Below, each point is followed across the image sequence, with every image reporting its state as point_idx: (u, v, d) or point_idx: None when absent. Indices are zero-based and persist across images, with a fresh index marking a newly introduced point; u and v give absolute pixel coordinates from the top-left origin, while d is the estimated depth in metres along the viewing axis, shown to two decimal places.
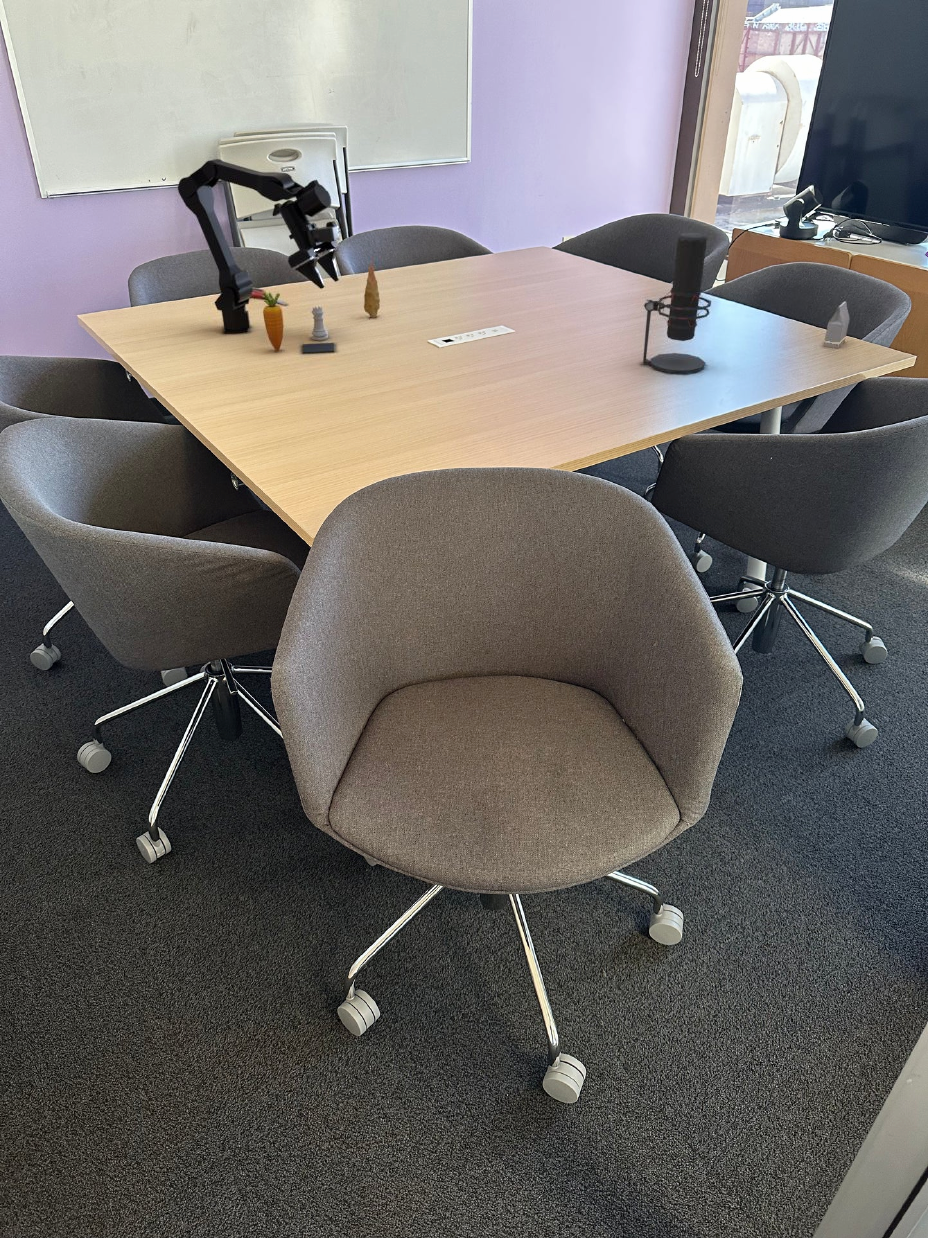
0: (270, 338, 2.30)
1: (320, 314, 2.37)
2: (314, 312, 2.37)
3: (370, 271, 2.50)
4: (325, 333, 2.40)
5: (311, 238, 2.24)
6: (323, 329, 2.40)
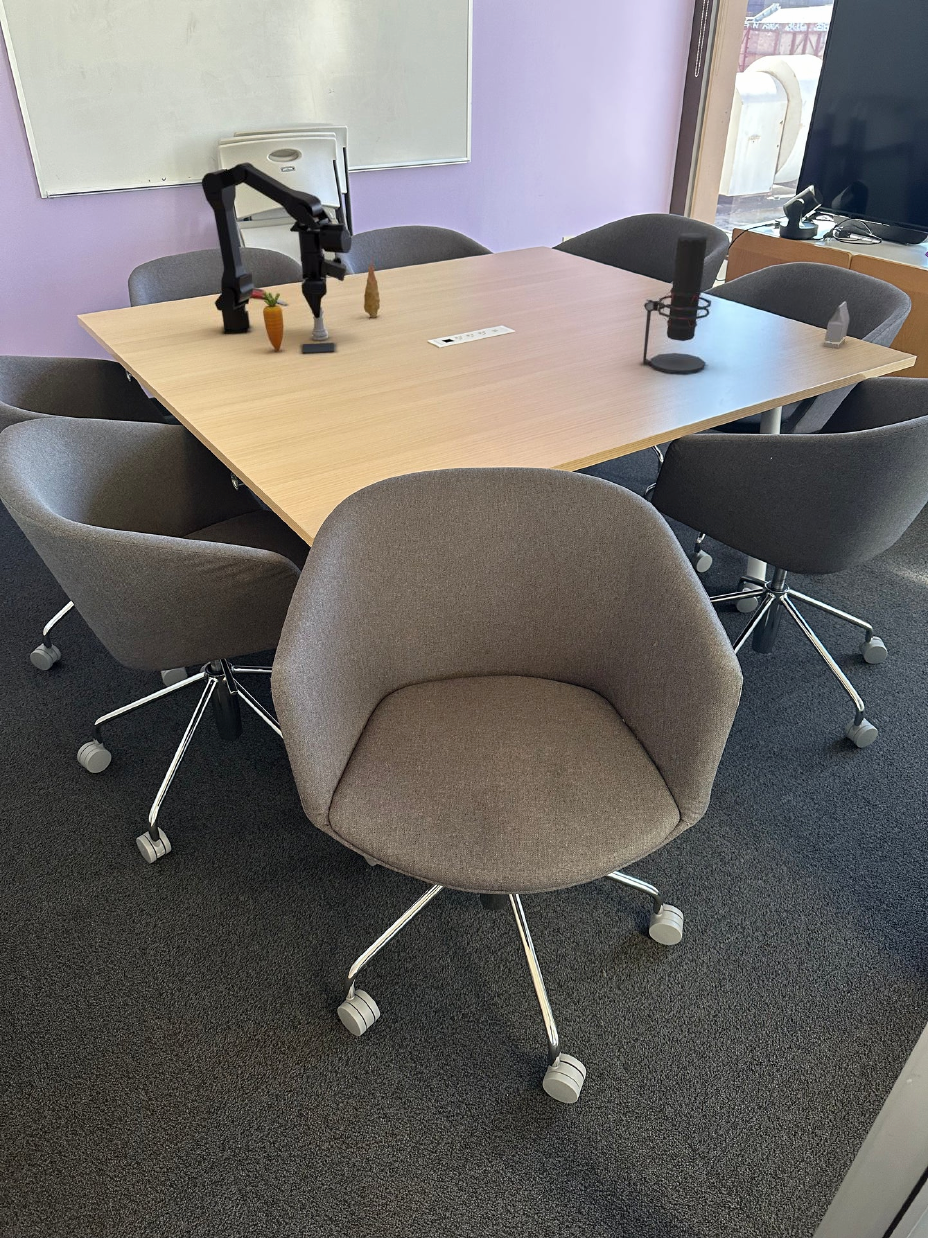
0: (270, 338, 2.30)
1: (320, 314, 2.37)
2: None
3: (370, 271, 2.50)
4: (325, 333, 2.40)
5: (324, 270, 2.30)
6: (323, 329, 2.40)
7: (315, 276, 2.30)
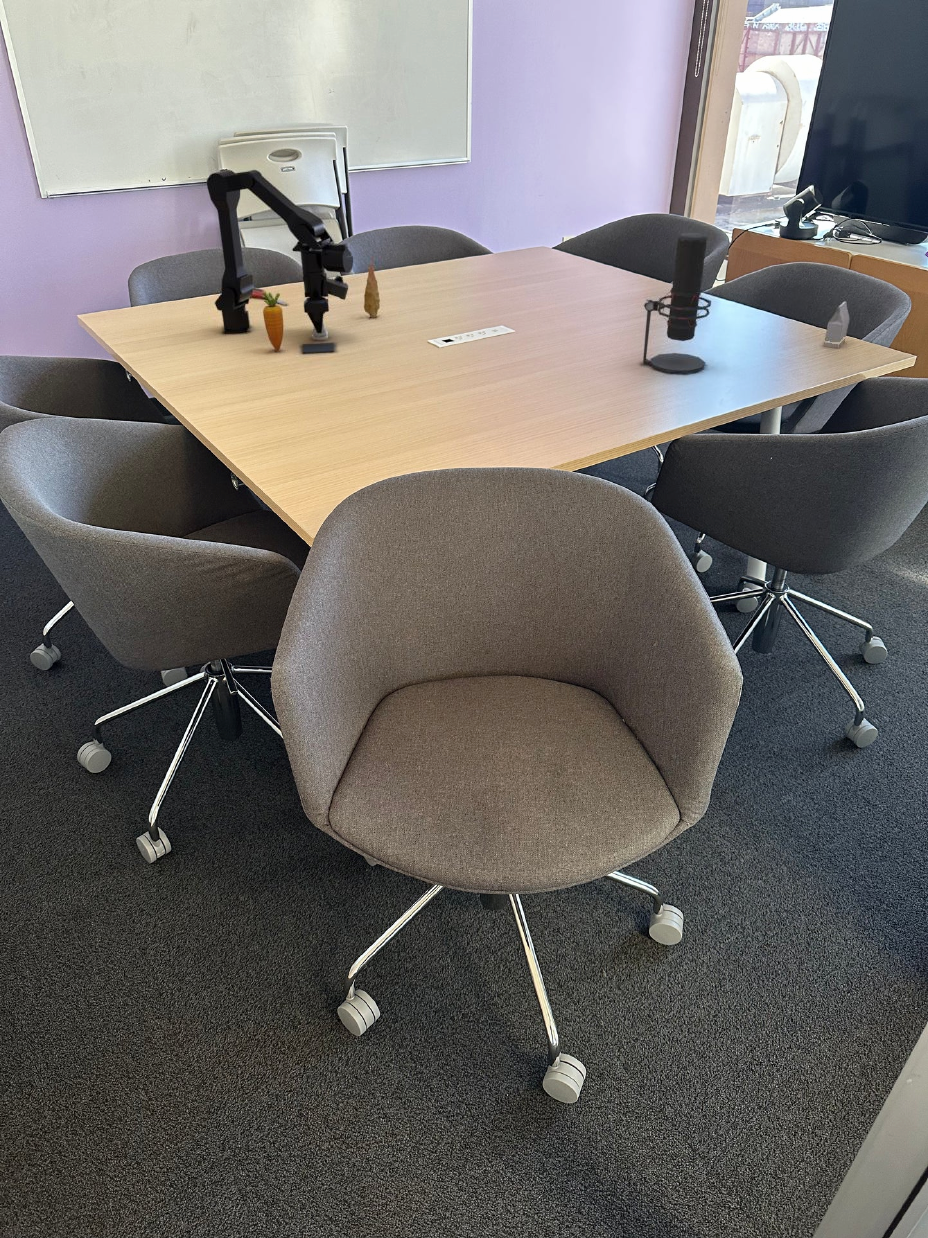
0: (270, 338, 2.30)
1: None
2: None
3: (370, 271, 2.50)
4: (325, 333, 2.40)
5: (325, 289, 2.32)
6: (323, 329, 2.40)
7: (317, 295, 2.33)
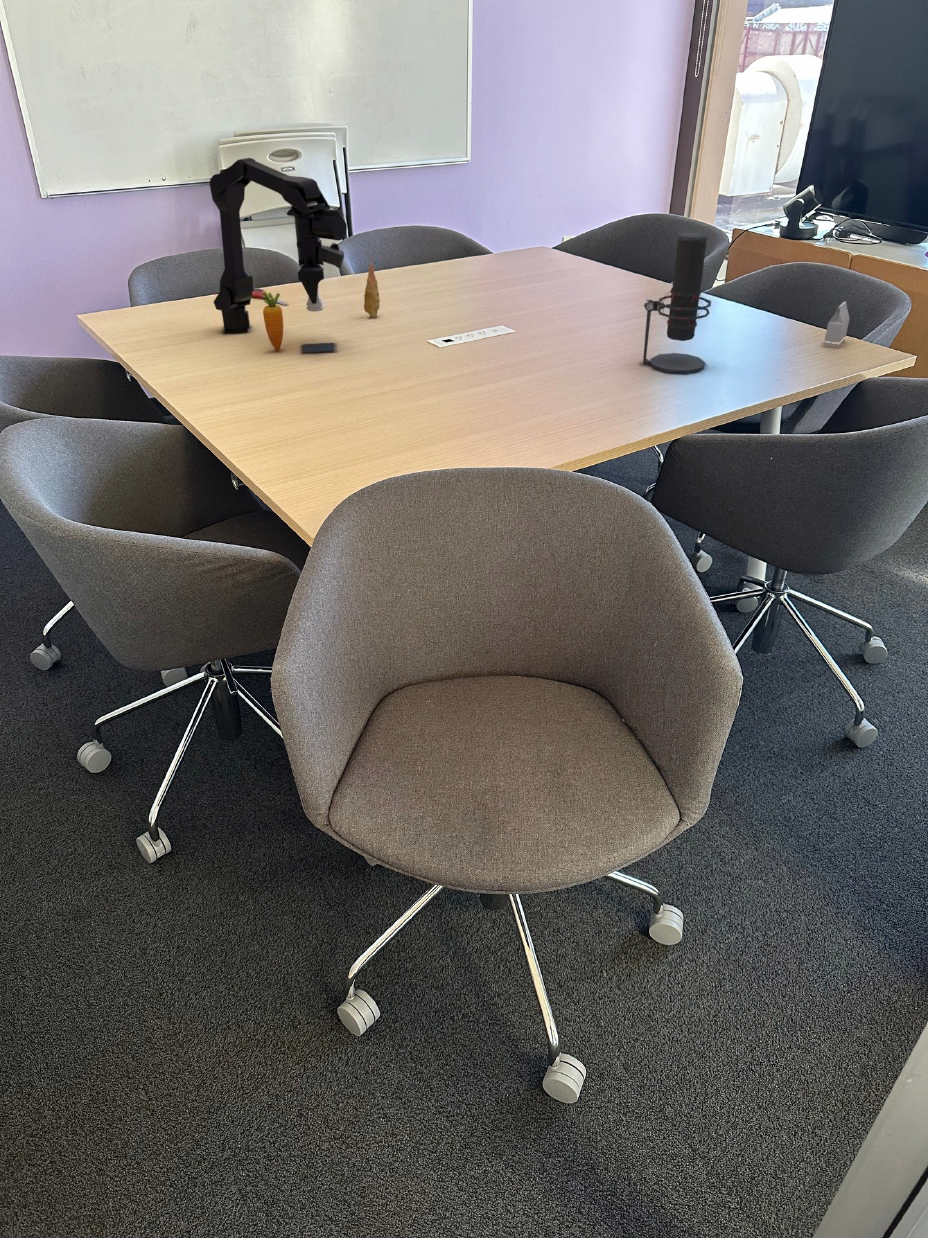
0: (270, 338, 2.30)
1: None
2: None
3: (370, 271, 2.50)
4: (320, 303, 2.29)
5: (321, 256, 2.21)
6: (318, 299, 2.29)
7: (312, 263, 2.22)
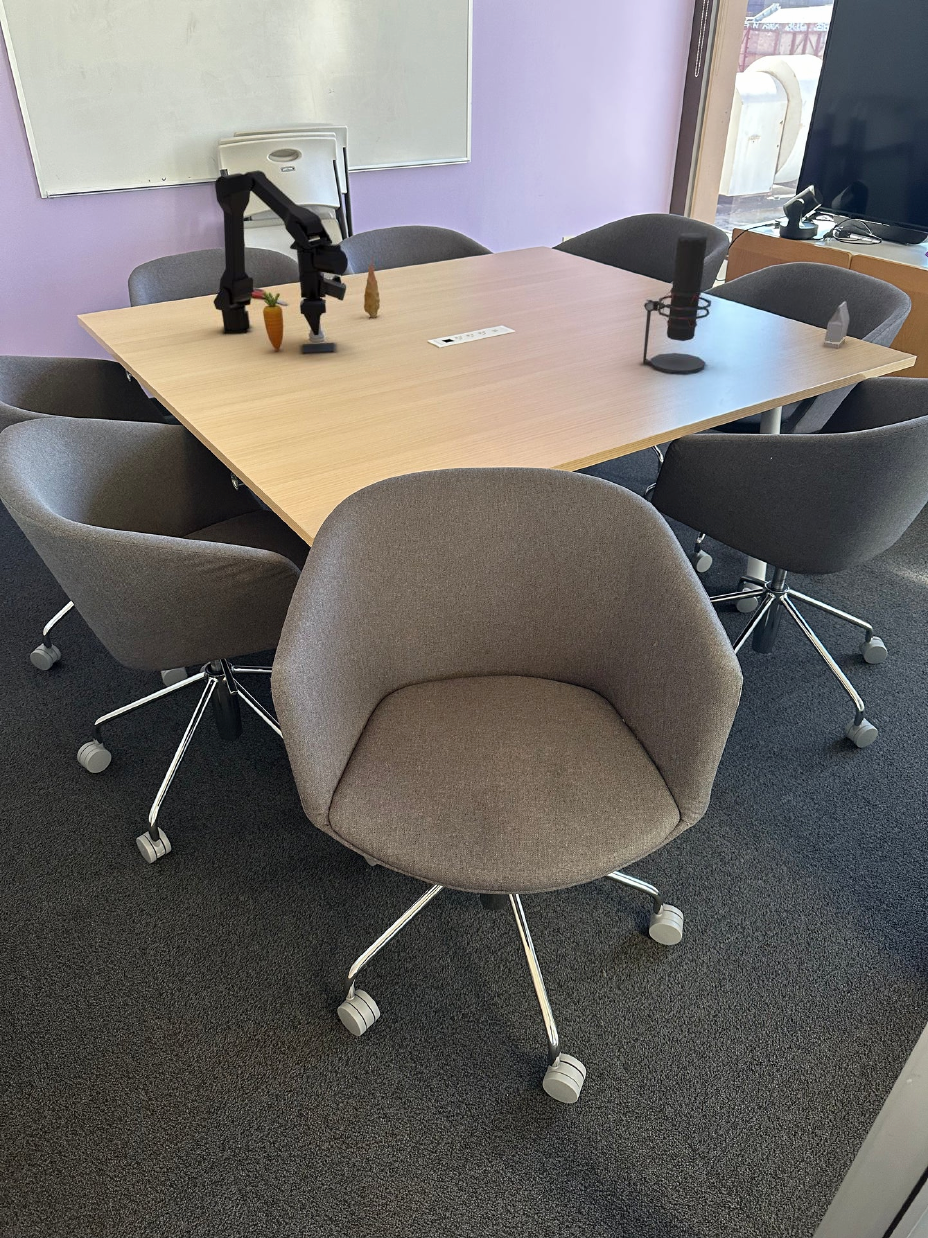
0: (270, 338, 2.30)
1: None
2: None
3: (370, 271, 2.50)
4: (322, 335, 2.31)
5: (323, 289, 2.24)
6: (320, 331, 2.31)
7: (314, 296, 2.24)
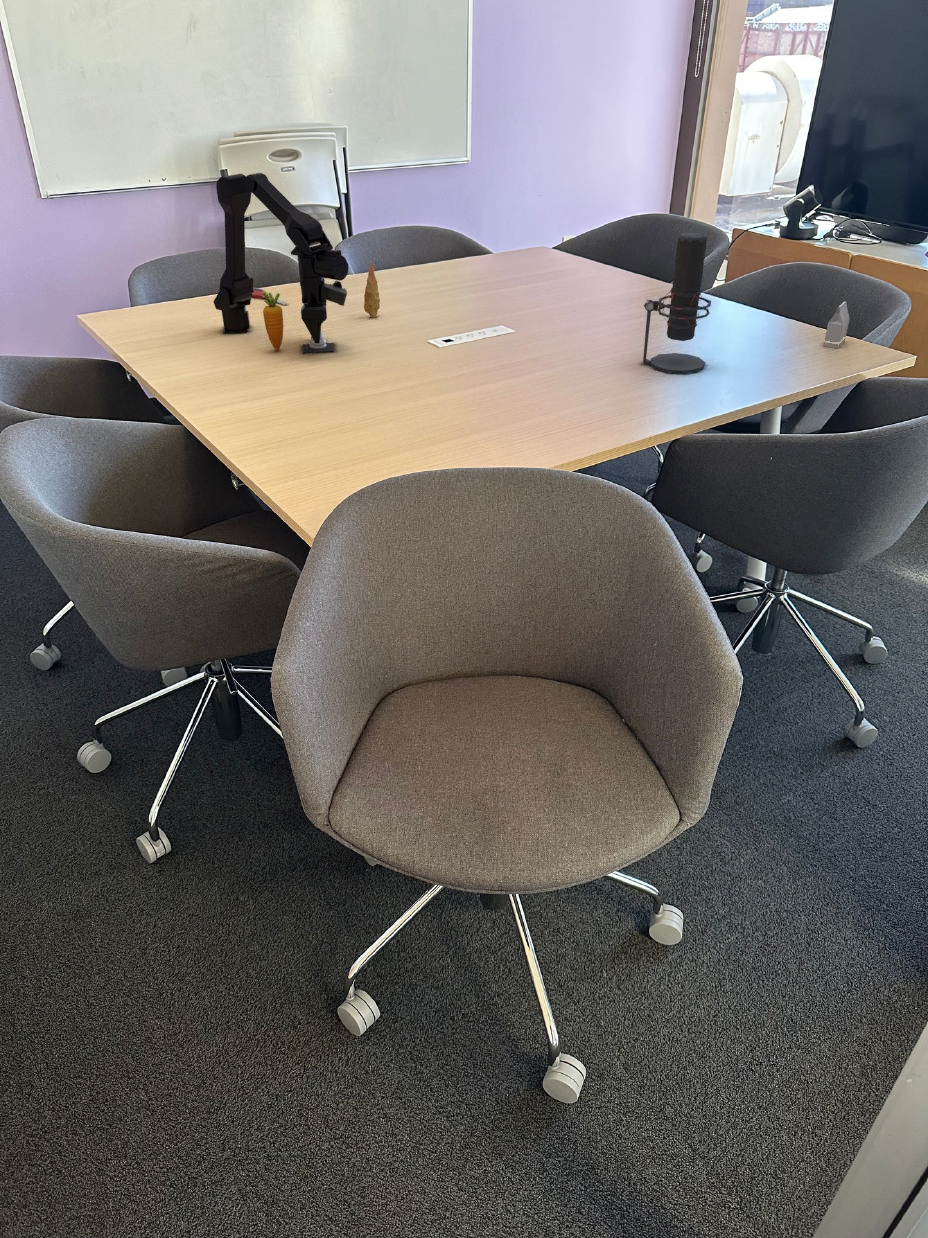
0: (270, 338, 2.30)
1: None
2: None
3: (370, 271, 2.50)
4: (323, 342, 2.32)
5: (323, 295, 2.24)
6: (321, 337, 2.32)
7: (315, 301, 2.25)
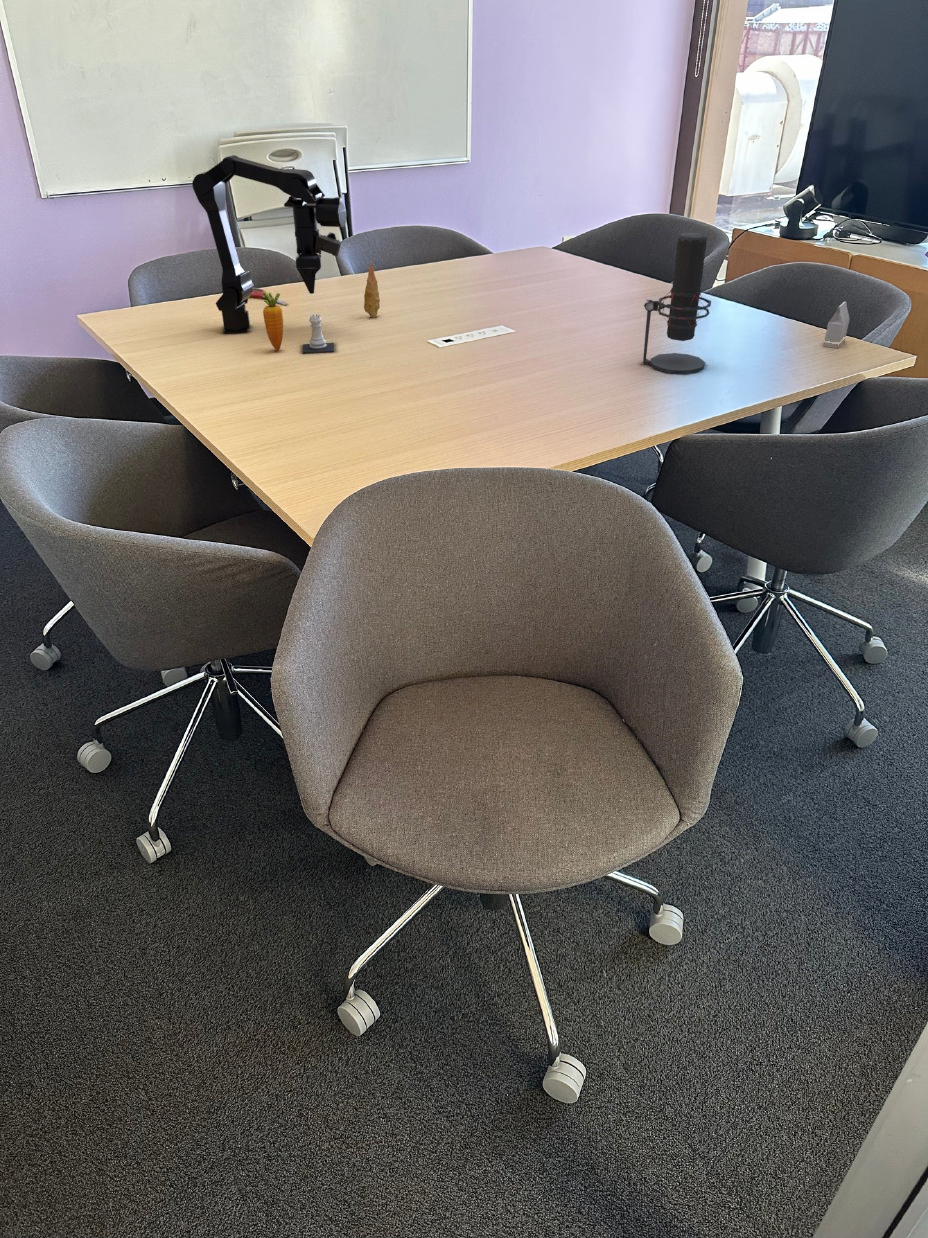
0: (270, 338, 2.30)
1: (318, 322, 2.30)
2: (312, 320, 2.29)
3: (370, 271, 2.50)
4: (323, 342, 2.32)
5: (318, 245, 2.30)
6: (321, 337, 2.32)
7: (309, 251, 2.31)
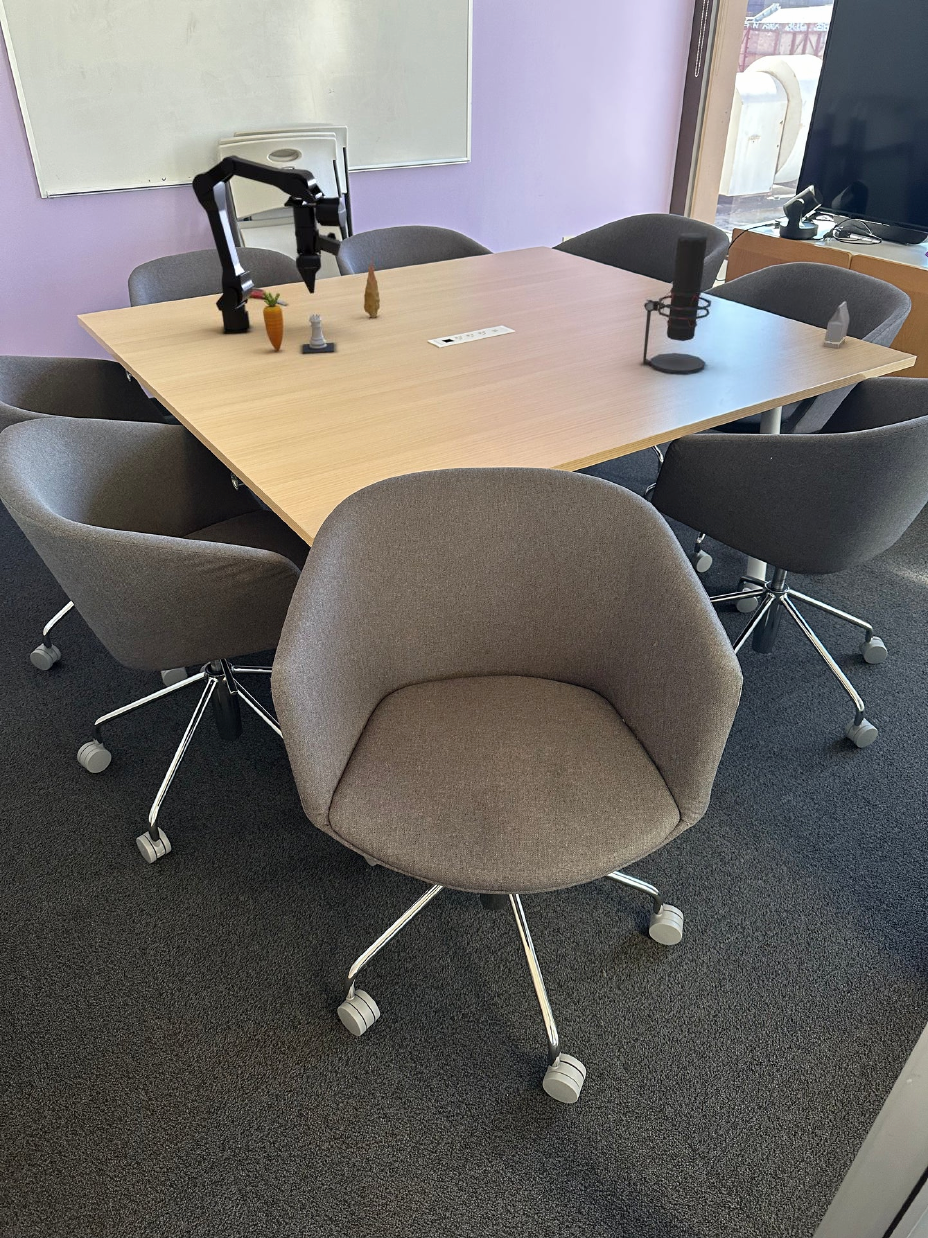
0: (270, 338, 2.30)
1: (318, 322, 2.30)
2: (312, 320, 2.29)
3: (370, 271, 2.50)
4: (323, 342, 2.32)
5: (318, 245, 2.30)
6: (321, 337, 2.32)
7: (309, 251, 2.31)
